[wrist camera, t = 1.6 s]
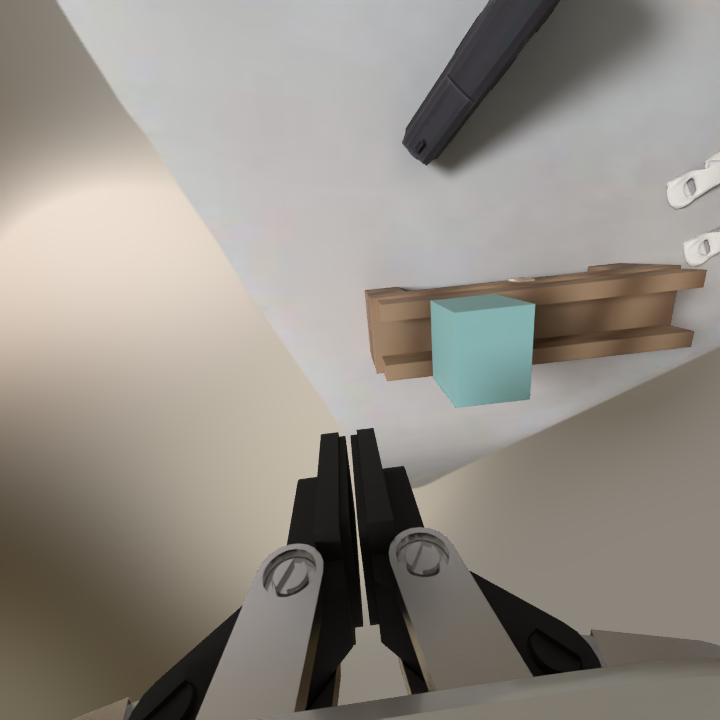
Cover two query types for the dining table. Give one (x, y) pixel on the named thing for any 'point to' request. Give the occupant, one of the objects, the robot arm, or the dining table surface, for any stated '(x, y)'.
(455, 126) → the handgun
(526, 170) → the dining table surface
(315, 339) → the dining table surface
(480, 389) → the teal rectangular block
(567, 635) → the robot arm
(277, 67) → the dining table surface
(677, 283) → the beam
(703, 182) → the white curved pieces
